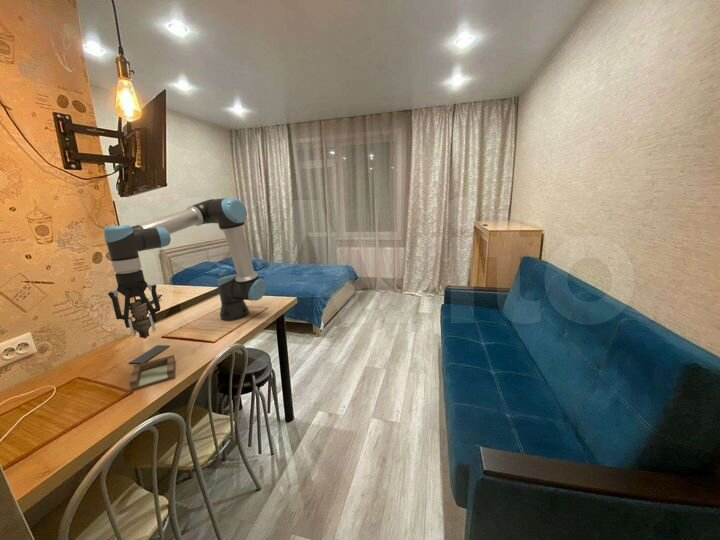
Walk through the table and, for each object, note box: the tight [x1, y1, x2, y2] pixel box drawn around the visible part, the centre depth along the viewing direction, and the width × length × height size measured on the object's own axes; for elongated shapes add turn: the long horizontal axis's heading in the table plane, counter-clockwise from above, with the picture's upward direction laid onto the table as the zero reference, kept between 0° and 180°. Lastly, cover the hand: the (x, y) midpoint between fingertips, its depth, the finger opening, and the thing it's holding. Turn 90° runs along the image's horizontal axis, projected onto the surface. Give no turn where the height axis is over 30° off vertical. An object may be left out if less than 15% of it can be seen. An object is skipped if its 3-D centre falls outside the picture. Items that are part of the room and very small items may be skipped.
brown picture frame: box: [128, 354, 177, 392], centre depth 109 cm, size 13×13×4 cm
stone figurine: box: [129, 298, 152, 340], centre depth 104 cm, size 6×6×15 cm
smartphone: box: [128, 344, 171, 365], centre depth 125 cm, size 7×1×15 cm
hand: (144, 332), depth 105 cm, fingers closed on stone figurine, 5 cm apart
